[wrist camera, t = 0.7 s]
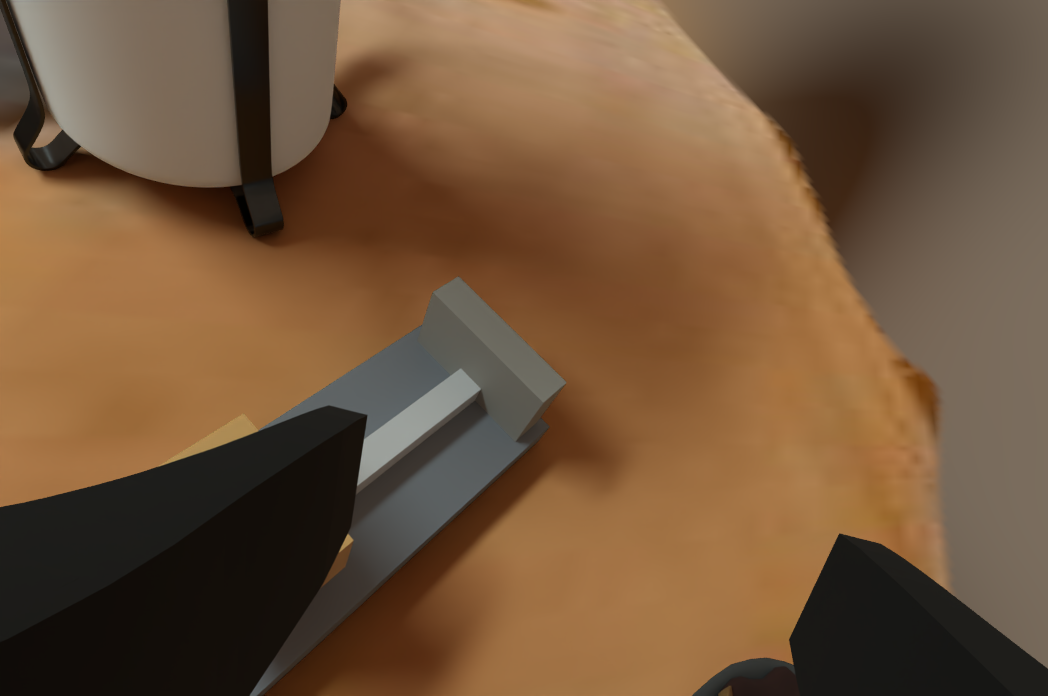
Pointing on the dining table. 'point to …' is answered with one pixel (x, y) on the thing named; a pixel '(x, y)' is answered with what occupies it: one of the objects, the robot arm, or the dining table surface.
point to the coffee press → (181, 89)
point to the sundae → (753, 680)
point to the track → (424, 444)
